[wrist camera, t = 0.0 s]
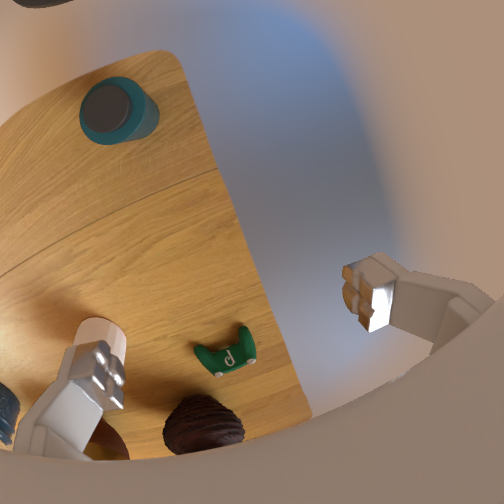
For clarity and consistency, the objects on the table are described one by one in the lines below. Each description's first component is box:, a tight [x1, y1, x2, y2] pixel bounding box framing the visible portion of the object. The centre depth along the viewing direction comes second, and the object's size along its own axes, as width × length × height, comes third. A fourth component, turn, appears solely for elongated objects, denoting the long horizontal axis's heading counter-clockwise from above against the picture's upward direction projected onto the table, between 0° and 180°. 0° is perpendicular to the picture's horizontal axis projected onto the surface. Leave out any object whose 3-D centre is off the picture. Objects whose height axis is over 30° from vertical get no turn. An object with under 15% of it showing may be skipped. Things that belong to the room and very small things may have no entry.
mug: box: [72, 317, 126, 366], centre depth 31 cm, size 8×12×10 cm
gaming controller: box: [194, 326, 256, 377], centre depth 40 cm, size 9×4×6 cm
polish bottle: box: [79, 77, 159, 145], centre depth 19 cm, size 5×5×14 cm
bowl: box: [82, 417, 130, 461], centre depth 39 cm, size 18×18×10 cm
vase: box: [162, 395, 245, 455], centre depth 35 cm, size 15×15×30 cm
